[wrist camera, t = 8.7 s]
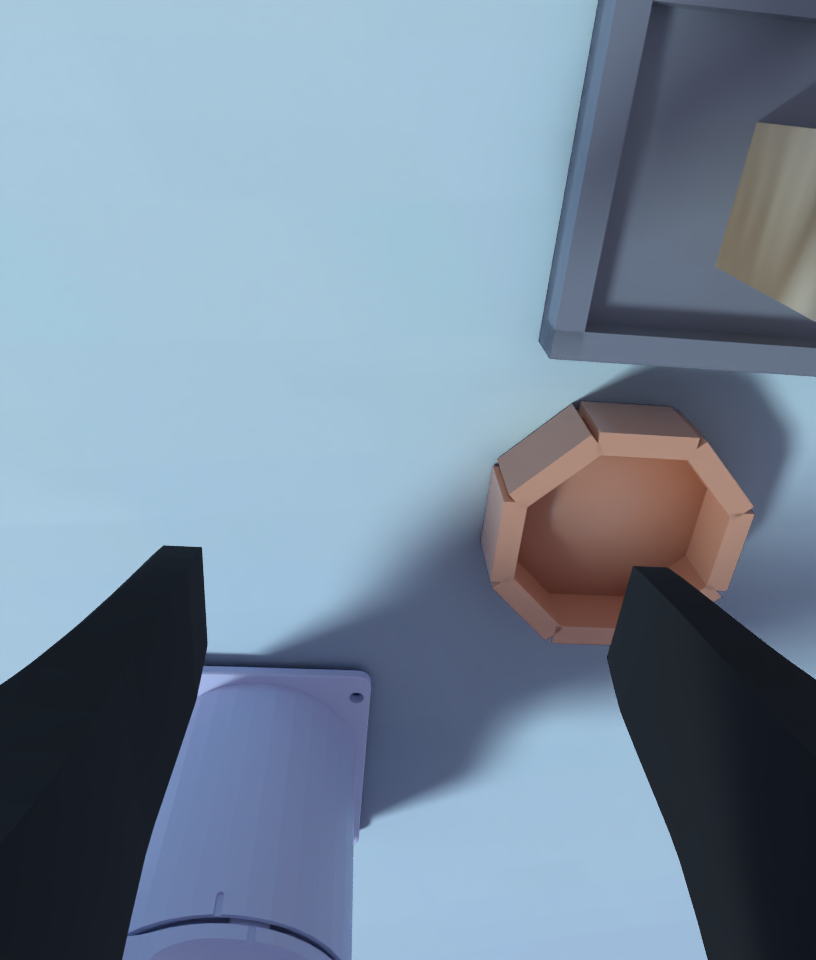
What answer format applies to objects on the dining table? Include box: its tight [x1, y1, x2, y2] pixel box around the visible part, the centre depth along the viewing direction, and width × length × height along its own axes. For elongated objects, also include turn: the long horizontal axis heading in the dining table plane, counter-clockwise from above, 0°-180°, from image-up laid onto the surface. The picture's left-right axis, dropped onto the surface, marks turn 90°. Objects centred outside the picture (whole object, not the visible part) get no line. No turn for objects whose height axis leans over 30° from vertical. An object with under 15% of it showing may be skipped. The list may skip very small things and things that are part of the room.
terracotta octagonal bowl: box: [481, 401, 755, 645], centre depth 23 cm, size 8×8×2 cm
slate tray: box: [539, 0, 816, 377], centre depth 19 cm, size 9×12×2 cm
